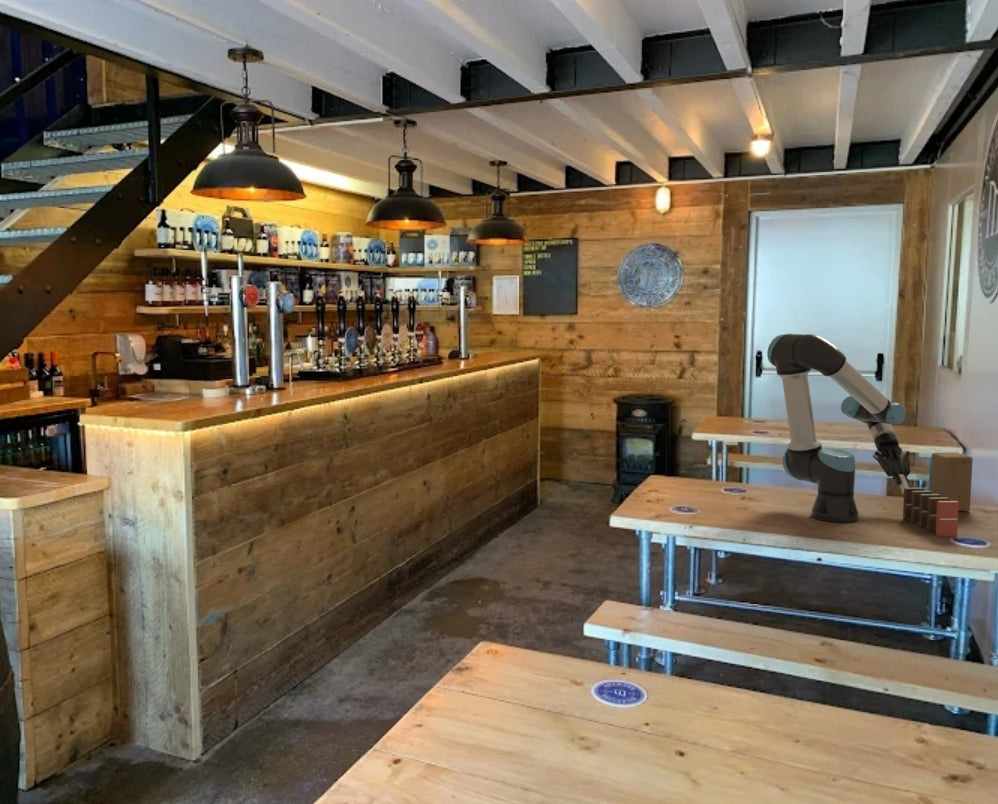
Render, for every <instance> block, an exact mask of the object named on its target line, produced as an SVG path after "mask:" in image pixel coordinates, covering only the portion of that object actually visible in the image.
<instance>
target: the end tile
mask: <svg viewBox="0 0 998 804" xmlns="http://www.w3.org/2000/svg"><path fill="white" fill-rule="evenodd" d="M958 509H959V502H957V501H937V515H936V532H935V536H937V535H938V536H937V537H957V536H958V524H959V512H958Z"/></svg>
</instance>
